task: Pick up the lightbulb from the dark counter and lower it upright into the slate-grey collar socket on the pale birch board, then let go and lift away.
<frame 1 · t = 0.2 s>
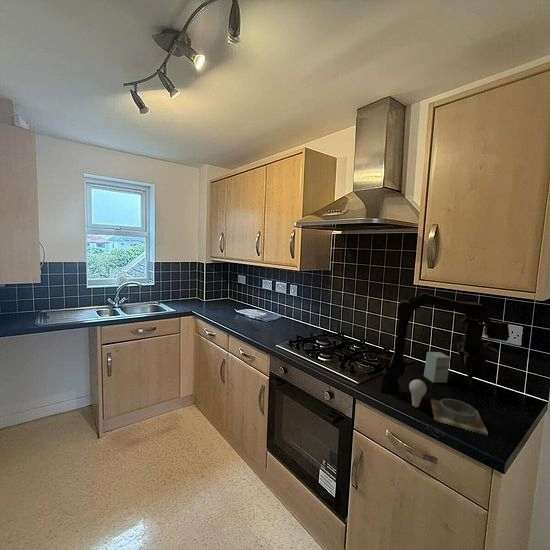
hand: (467, 374, 117), 14 cm above the worktop, fingers open, 9 cm apart
lightbulb: (415, 407, 117), on the worktop
supplement box: (435, 379, 144), on the worktop
socket board: (456, 417, 111), on the worktop
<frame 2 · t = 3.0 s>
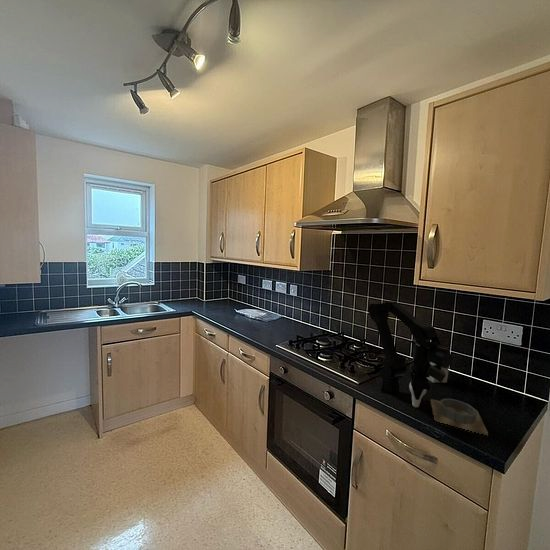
hand: (416, 396, 116), 5 cm above the worktop, fingers closed on lightbulb, 6 cm apart
lightbulb: (415, 407, 117), on the worktop, touching gripper
everything else where it was.
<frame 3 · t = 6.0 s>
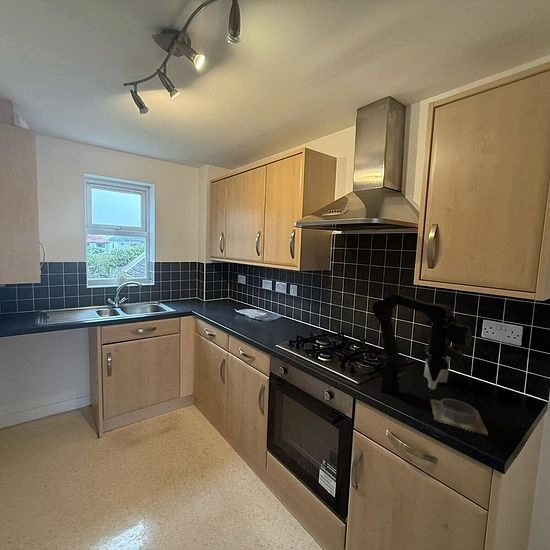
hand: (433, 378, 113), 13 cm above the worktop, fingers closed on lightbulb, 6 cm apart
lightbulb: (431, 389, 114), point 8 cm above the worktop, touching gripper
everything else where it was.
when the fingers open (7 cm above the worktop, at t = 9.0 s): lightbulb drops 1 cm, resting on socket board.
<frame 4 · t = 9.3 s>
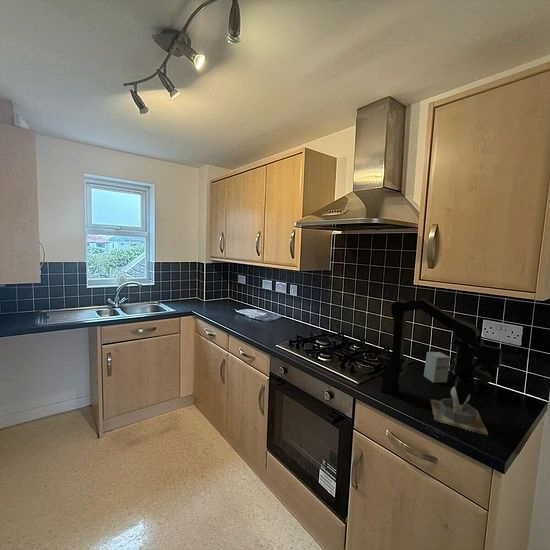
hand: (458, 399, 111), 7 cm above the worktop, fingers open, 9 cm apart
lightbulb: (456, 414, 111), point 1 cm above the worktop, touching socket board
everything else where it was.
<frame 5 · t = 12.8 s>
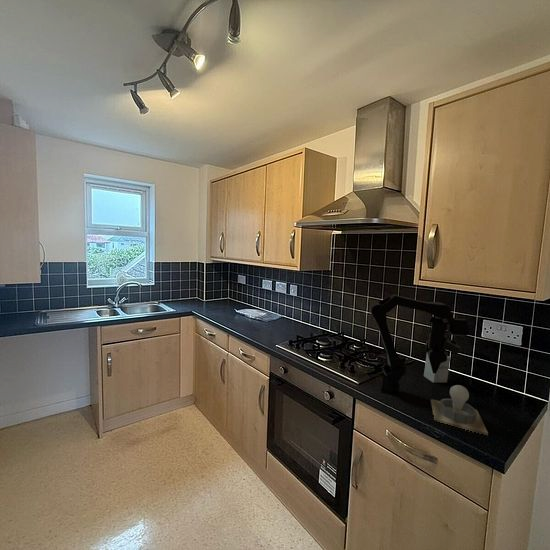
hand: (433, 369, 125), 12 cm above the worktop, fingers open, 9 cm apart
nothing on the worktop moved.
at the end: lightbulb 0.1 cm off-centre on the socket board, point 1.0 cm above the socket board's base; lightbulb tilted 1°; the gripper is holding nothing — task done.
